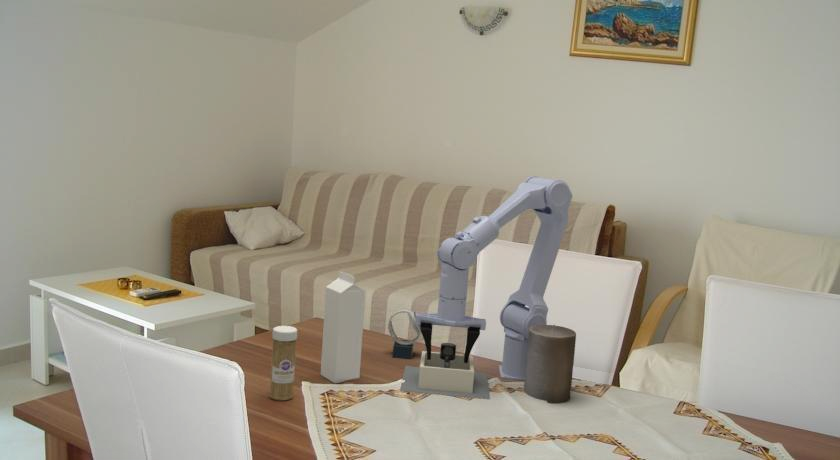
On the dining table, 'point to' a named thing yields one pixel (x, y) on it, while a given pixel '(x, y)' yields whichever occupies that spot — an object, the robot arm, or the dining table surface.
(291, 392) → the sprinkles bottle
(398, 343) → the watch
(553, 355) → the pillar candle
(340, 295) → the milk
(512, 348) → the robot arm
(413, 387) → the slate mat
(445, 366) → the plunger
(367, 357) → the dining table surface
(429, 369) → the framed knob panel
